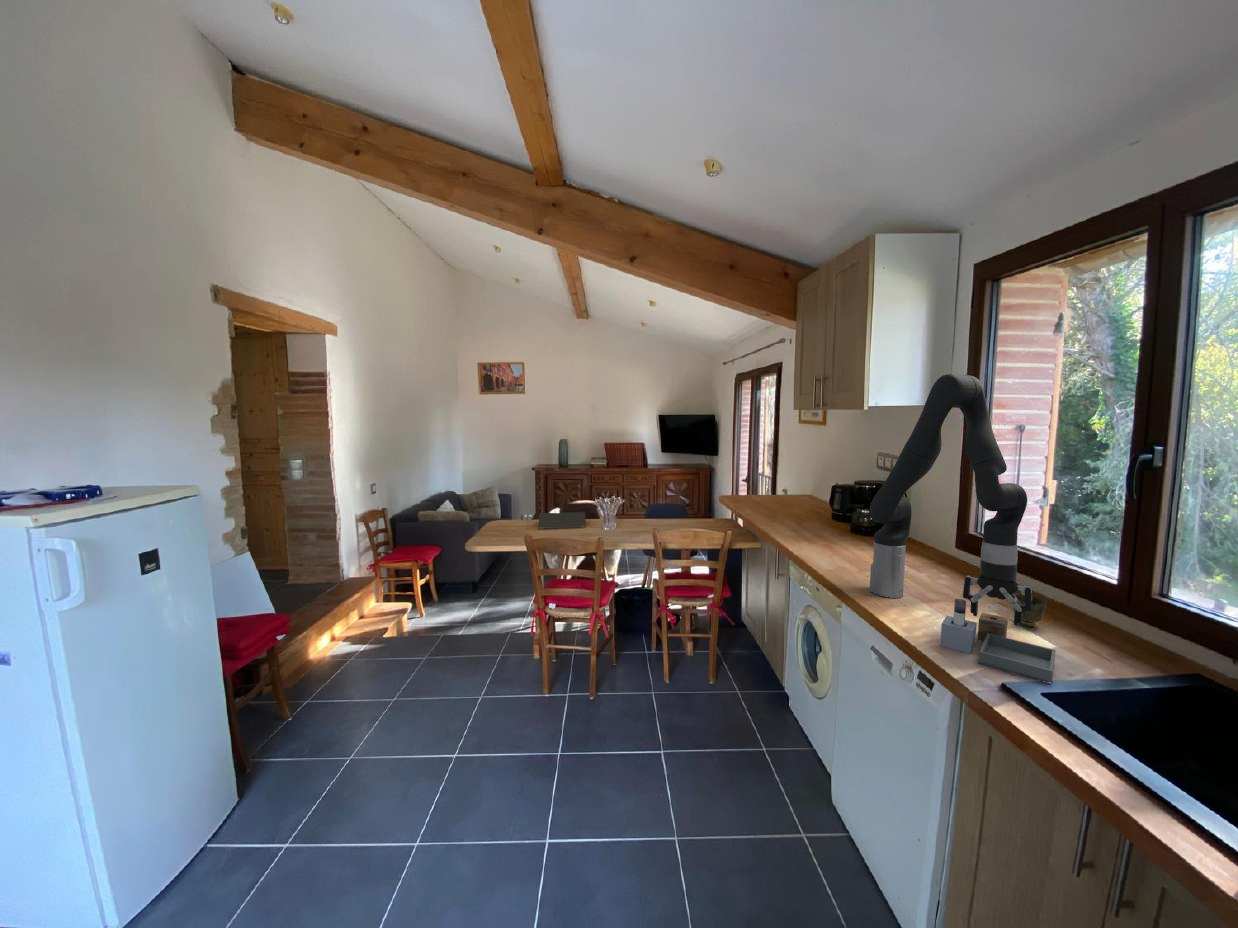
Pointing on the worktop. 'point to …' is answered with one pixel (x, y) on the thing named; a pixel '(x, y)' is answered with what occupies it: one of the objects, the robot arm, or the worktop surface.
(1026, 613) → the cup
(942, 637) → the grey socket cube
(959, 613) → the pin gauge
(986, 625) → the walnut block
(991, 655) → the tray
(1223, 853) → the worktop surface
